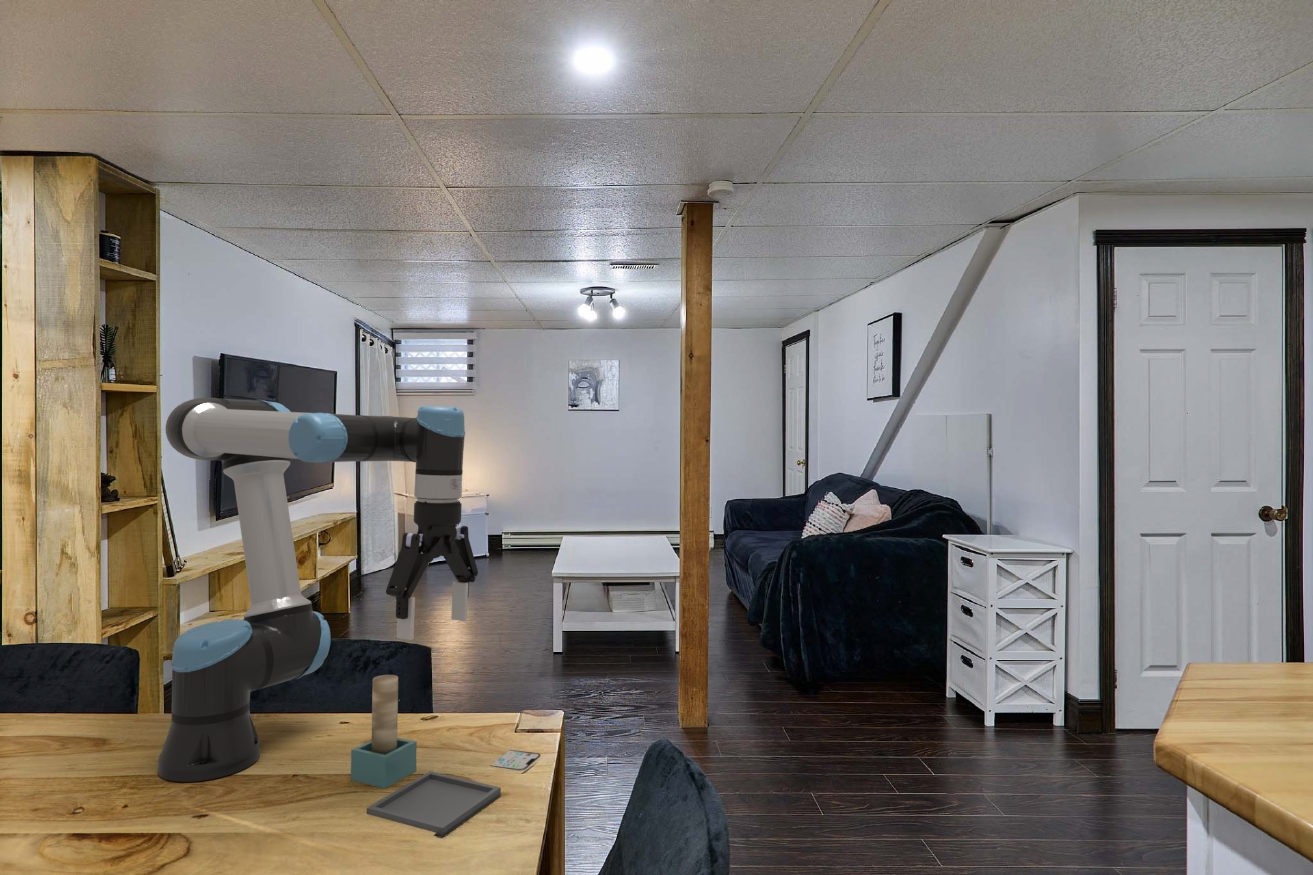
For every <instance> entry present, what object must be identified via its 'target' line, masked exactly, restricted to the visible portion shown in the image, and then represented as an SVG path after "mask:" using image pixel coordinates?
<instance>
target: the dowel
mask: <svg viewBox="0 0 1313 875" xmlns="http://www.w3.org/2000/svg"><path fill="white" fill-rule="evenodd" d="M371 690H372V692H371V693H372V695H371V696H372V698H371V699H372V700H371V701H372V703H371V740H372V749H371V752H375V753H379V754H384V755H386V754H388V753H390V752H392V751H394V750H396V749H397V737H398V721H399V720H398V717H399V716H398V714H399V713H398V712H399V709H398V708H399V707H398V706H399V676H397V675H395V674H383V675H381V674H380V675H378V676H374V677H373V678H372V689H371Z"/></svg>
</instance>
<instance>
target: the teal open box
mask: <svg viewBox="0 0 1313 875" xmlns="http://www.w3.org/2000/svg"><path fill="white" fill-rule="evenodd" d="M417 743H418V741H416V740H411V739H406V738H402V737H398V736H397V749H396V750H394V751H392V752H390V753H388V754H386V755H384V754H379V753H375V752H371V749H372V739H371V740H368V741H367V742H365V743H363V744H361V745H359V746H356V747H354V748H351V749H350V750H351V753H350V754H351V755H350V781H353V782H356V783H361V784H365V785H369V786H373V787H378V788H381V789H387V788H389V787H391V786H393V785H394V784H396V783H397V782H399V781H401V780H403V779H405V778H407V777H408V776H410V775H412V774H413V773H416V772H417V747H418V746H417Z"/></svg>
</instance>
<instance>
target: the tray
mask: <svg viewBox="0 0 1313 875" xmlns="http://www.w3.org/2000/svg"><path fill="white" fill-rule="evenodd" d="M501 790H502V789H501V786H496V785H492V784H487V783H483V782H479V781H474V780H470V779H466V778H463V777H462V778H461V777H457V776H454V775H448V774H444V773H439V772H436V771H430V770H429V771H428V772H426V773H424V774H423V775H421V776H419V777H417V778H416V779H414V780H412V781H411V782H409V783H406V784H405V785H404V786H402V787H400V788H399V789H397V790H395V791H394V792H391V793H390V794H388V795H386V796H385V797H383V798H381V799H380V800H378V801H376V802H374V803H372V804H371V805H369V806H367V807H366V814H367V815H370V816H373V817H374V816H375V817H379V818H382V819H385V820H389V821H393V822H396V823H400V824H405V825H408V826H412V827H415V828H418V829H419V828H420V829H423V830H426V831H430V832H434V833H433V835H432V836H434V837H438V838H442V839H443V838H445V837H446V836H448V835H449V834H450V833H452V832H453V831H454V830H456V829H457V828H458V827H459V828H460V826H461V825H463V824H464V823H465V822H467V821H468V820H470V819H472V817H474V816H476V815H477V814H478V813H479V812H481V811H482V810H483V809H485V808H486V807H489V805H491V804H492V803H493V802H495V801H496V800H498V799H499V798H501V795H502V794H501V793H502V792H501Z"/></svg>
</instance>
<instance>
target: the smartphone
mask: <svg viewBox="0 0 1313 875" xmlns="http://www.w3.org/2000/svg"><path fill="white" fill-rule="evenodd" d="M540 757H541V753H538V752H531V751H524V750H522V751H521V750H514V749H509V750H507V751H506V752H505V753H504V754H502V756H500V757H499V758H498V759H496V760H495V761H494V762H493V763H491V764H490V767H494V768H500V769H506V770H512V771H520V772H521V771H523V772H522V773H520V775H524V774H526V773H527V772H528V771H530V770H531V769H532V768H533V767H535V765H536V764H537V762H536V761H537V760H538V759H540ZM534 763H535V764H534Z"/></svg>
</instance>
